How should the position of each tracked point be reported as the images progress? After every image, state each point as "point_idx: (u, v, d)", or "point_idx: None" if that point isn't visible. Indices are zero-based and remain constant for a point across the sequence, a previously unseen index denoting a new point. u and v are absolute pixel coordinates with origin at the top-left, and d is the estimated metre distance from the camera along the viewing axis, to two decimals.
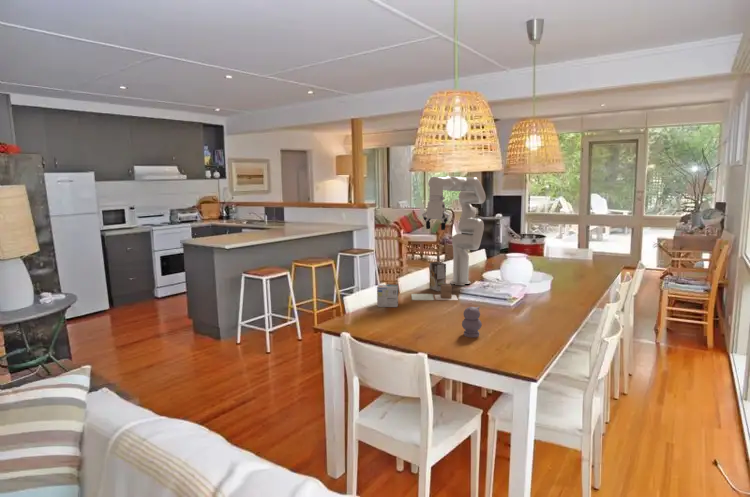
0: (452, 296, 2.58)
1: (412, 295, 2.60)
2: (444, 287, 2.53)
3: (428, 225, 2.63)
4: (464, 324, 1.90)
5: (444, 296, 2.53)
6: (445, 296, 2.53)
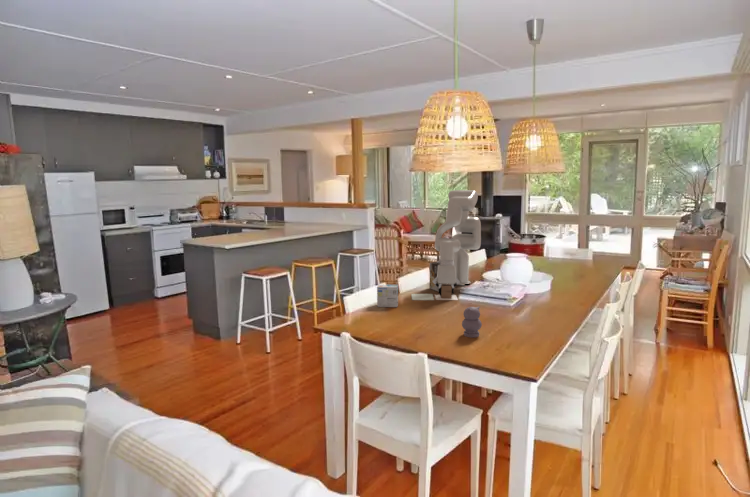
0: (452, 296, 2.58)
1: (412, 295, 2.60)
2: (444, 287, 2.53)
3: None
4: (464, 324, 1.90)
5: (444, 296, 2.53)
6: (445, 296, 2.53)
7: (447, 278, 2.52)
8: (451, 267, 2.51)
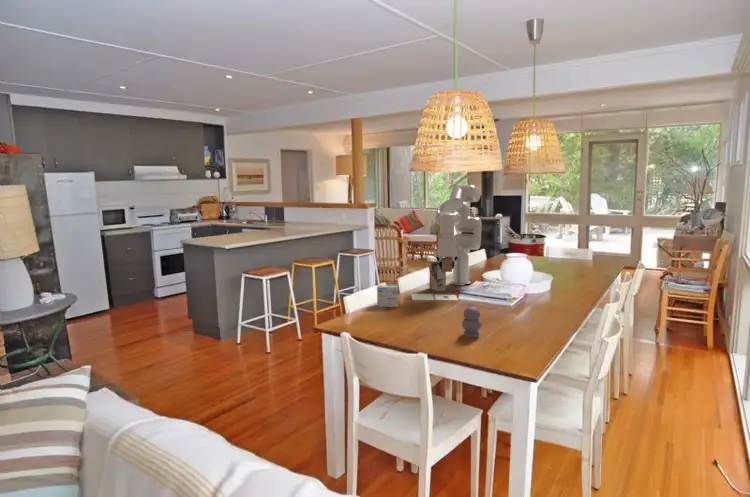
0: (452, 296, 2.58)
1: (412, 295, 2.60)
2: (445, 260, 2.51)
3: None
4: (464, 324, 1.90)
5: (445, 269, 2.52)
6: (446, 269, 2.52)
7: (448, 251, 2.50)
8: (451, 240, 2.49)
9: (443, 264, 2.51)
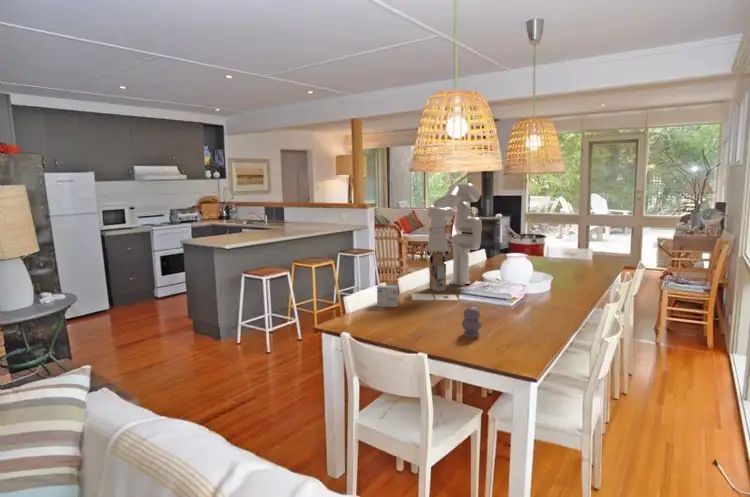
0: (452, 296, 2.58)
1: (412, 295, 2.60)
2: (435, 255, 2.50)
3: None
4: (464, 324, 1.90)
5: (435, 264, 2.51)
6: (436, 264, 2.51)
7: (438, 246, 2.50)
8: (442, 234, 2.49)
9: (434, 258, 2.51)
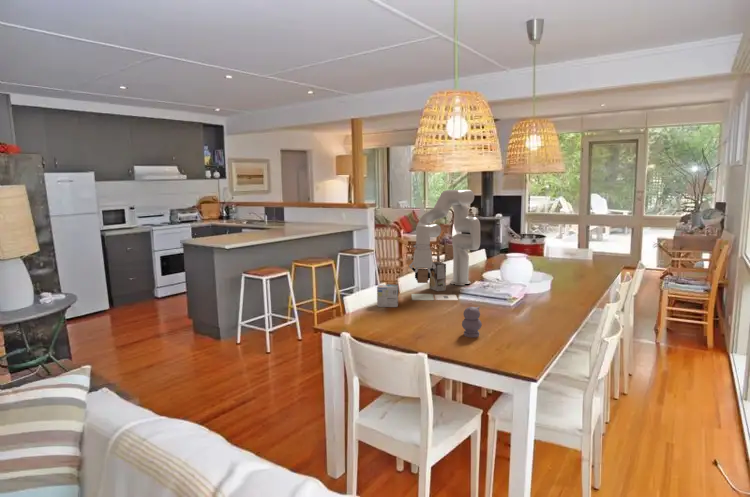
0: (452, 296, 2.58)
1: (412, 295, 2.60)
2: (420, 271, 2.52)
3: None
4: (464, 324, 1.90)
5: (420, 280, 2.53)
6: (421, 280, 2.53)
7: (423, 262, 2.51)
8: (427, 251, 2.50)
9: (419, 275, 2.52)
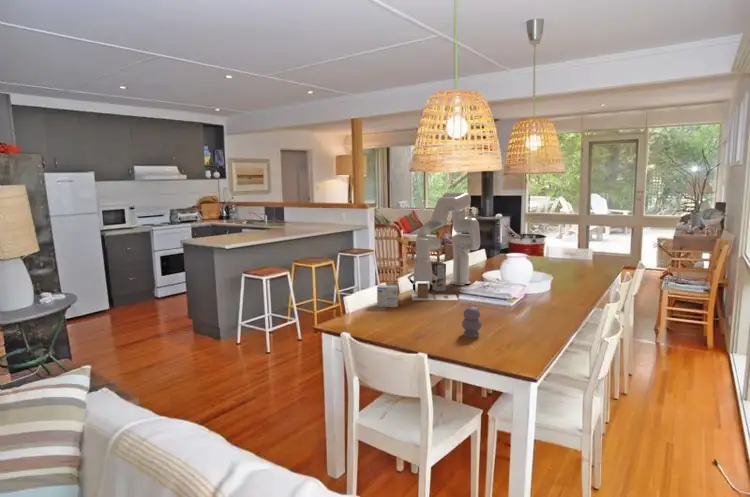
0: (452, 296, 2.58)
1: (412, 295, 2.60)
2: (420, 287, 2.53)
3: None
4: (464, 324, 1.90)
5: (421, 295, 2.54)
6: (421, 296, 2.54)
7: (423, 276, 2.52)
8: (427, 265, 2.52)
9: (419, 290, 2.54)
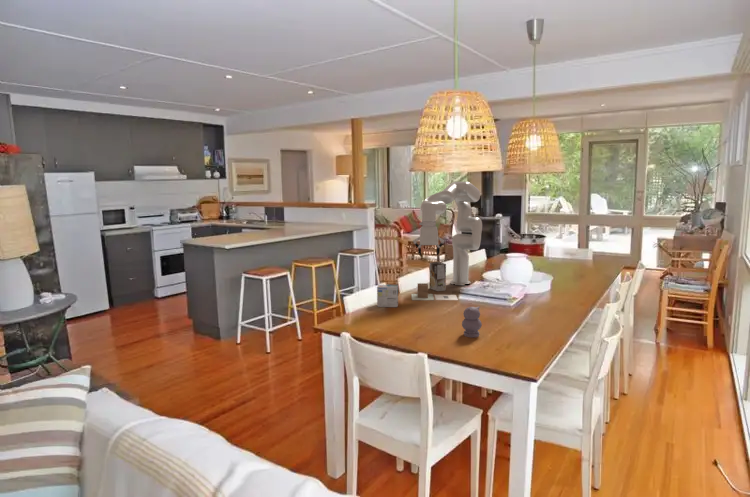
0: (452, 296, 2.58)
1: (412, 295, 2.60)
2: (420, 287, 2.53)
3: None
4: (464, 324, 1.90)
5: (421, 295, 2.54)
6: (421, 296, 2.54)
7: (429, 239, 2.52)
8: (433, 228, 2.51)
9: (419, 290, 2.54)
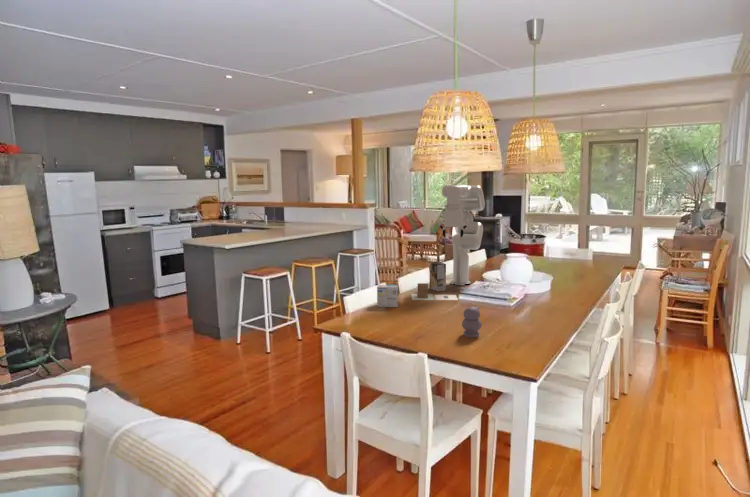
0: (452, 296, 2.58)
1: (412, 295, 2.60)
2: (420, 287, 2.53)
3: (460, 233, 2.66)
4: (464, 324, 1.90)
5: (421, 295, 2.54)
6: (421, 296, 2.54)
7: (454, 221, 2.62)
8: (457, 211, 2.62)
9: (419, 290, 2.54)
